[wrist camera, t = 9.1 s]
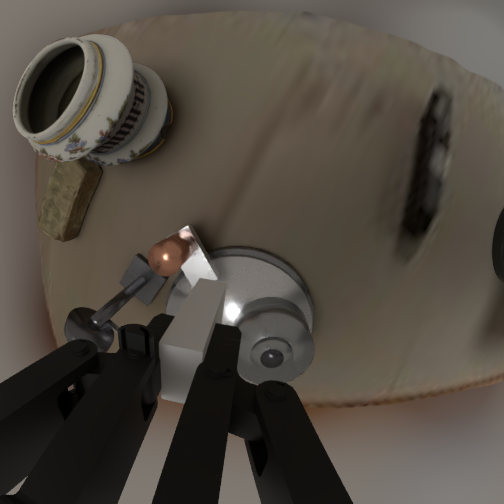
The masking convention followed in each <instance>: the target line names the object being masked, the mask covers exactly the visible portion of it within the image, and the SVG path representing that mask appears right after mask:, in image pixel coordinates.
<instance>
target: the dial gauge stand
mask: <svg viewBox="0 0 504 504" xmlns="http://www.w3.org/2000/svg"><path fill="white" fill-rule="evenodd" d="M167 278H168V276H161V275H158V274H157V273H155V272H154V271H153V270H152V268H151V267H150V265H149V261H148V260H147V259H145V258H144V257H143V256H142V255H141V254H137V255H136V256H135V258H134V259H133V261H132V263H131V264H130V266H129V268H128V269H127V271H126V273H125V274H124V276H123V278H122V280H121V281H120V284H121V285H122V286H124V287H125V289H123V290H122V291H121V292H120V293H118V294H117V295H116V296H115V297H114V298H112V299H111V300H110V301H109V302H108V303H107V304H105V305H104V306H103V307H102V308H101V309H99V310H98V311H95V310H93V309H90V308H85V307H79V308H75V309H73V310H72V311H71V312H70V313H69V315H68V317H67V320H66V322H65V326H64V332H65V336H66V338H67V340H68V341H69V342H70V341H72V340H75V339H87V340H90V341H92V342H93V343H95V344H96V346H97V349H98V352H104V353H106V352H107V351H108V350H109V348H110V346H111V345H112V343H113V341H114V331H113V330H115V331H116V332H117V333H118V329H119V328H120V327H118V326H117V325H116V324H115V323H113V322H112V321H111V320H110V318H111V317H112V316H113V315H114V314H115V313H116V312H117V311H119V310H120V309H121V308H122V307H123V306H124V305H125V304H126V303H127V302H128V301H129V300H130V299H131V298H132V297H133V296H136V297H137V298H138V299H139V300H140V301H142V302H143V303H144V304H145V305H147V306H148V305H149V304H150V303H151V302H152V300H153V299H154V297H155V296H156V294H157V293H158V291H159V290H160V288H161V287H162V286H163V284H164V283H165V281H166V280H167Z"/></svg>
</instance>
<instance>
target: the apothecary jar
mask: <svg viewBox="0 0 504 504" xmlns="http://www.w3.org/2000/svg"><path fill="white" fill-rule="evenodd" d="M13 117H14V122H15V125H16V127H17V129H18V131H19V132H20V133H21V135H23V136H24V137H26V138H28V140H29V143H30V145H31V146H32V148H33V149H34V150H35V152H36V153H37V154H39V155H40V156H41V157H43V158H44V159H47V160H49V161H53V162H69V161H73V160H76V159H79V158H81V157H83V156H85V157H86V158H87V159H88V160H90V161H91V162H93V163H96V164H99V165H103V166H115V165H120V164H123V163H126V162H128V161H130V160H132V159H139V158H142V157H145V156H147V155H149V154H151V153H152V152H154V151H155V150H156V149H157V148H158V147H159V146H160V145H161V144H162V143H163V142H164V140H165V138H166V137H165V136H166V130H167V128H168V127H169V126H170V125H171V124H172V120H173V111H172V106H171V104H170V101H169V100H168V98H167V93H166V89H165V86H164V84H163V82H162V80H161V78H160V77H159V76H158V75H157V74H156V73H155V72H154V71H153V70H151V69H150V68H148V67H146V66H144V65H140V64H135V63H133V61H132V58H131V55H130V53H129V51H128V50H127V48H126V47H125V46H124V45H123V44H122V43H121V42H120V41H119V40H117V39H115V38H113V37H110V36H107V35H101V34H94V35H87V36H83V37H80V38H75V37H68V38H62V39H59V40H57V41H54V42H52V43H51V44H49V45H48V46H46V47H45V48H44V49H43V50H41V51H40V52H39V53H38V54H37V55H36V56H35V58H34V59H33V60H32V62H31V63H30V64H29V66H28V67H27V69H26V70H25V72H24V74H23V75H22V77H21V80H20V82H19V85H18V87H17V90H16V94H15V98H14V103H13Z"/></svg>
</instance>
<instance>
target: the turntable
mask: <svg viewBox="0 0 504 504" xmlns="http://www.w3.org/2000/svg"><path fill="white" fill-rule="evenodd" d="M148 261H149V265H150V267H151V268H152V270H153V271H154V272H155V273H157V274H158V275H161V276H171V275H173V274H175V273H176V272H177V271H178V270H179V268H180V267H181V268H182V270H183V272H184V274H185V275H184V276H183V277H182V278H181V280H180V281H179V282H178V283H177V285H176V286H175V288H174V289H173V291H172V293H171V295H170V298H169V301H168V304H167V310H166V314H167V315H172V316H176V314H177V313H178V311H179V309H180V308H181V306H182V305H183V303H184V302H185V300H186V298H187V297H188V295H189V294H190V292H191V291H192V289H193V288H194V286H195V284H196V283H197V281H198V280H199V278H203V279H209V280H215V281H221V282H227V286H226V294H225V302H224V310H223V318H222V324H224V325H231V326H234V321H235V319H236V316H237V315H238V313H239V312H240V310H241V309H242V308H243V307H244V306H246V305H247V304H248V303H250V302H252V301H254V300H257V299H260V298H264V297H279V298H284V299H286V300H289V301H291V302H293V303H294V304H296V305H297V306H298V307H299V308H300V309H301V310H302V311H303V313H304V315H305V317H306V319H307V322H308V326H309V329H310V332H312V315H311V310H310V306H309V303H308V301H307V298H306V296H305V294H304V292H303V290H302V288H301V287H300V285H299V284H298V283H297V282H296V280H295V279H294V278H293V277H292V276H291V275H290V274H289V273H288V272H286V271H285V270H284V269H282V268H281V267H279V266H278V265H276V264H274V263H272V262H270V261H267V260H265V259H262V258H259V257H255V256H251V255H242V254H230V255H222V256H218V257H214V258H210V257H209V255H208V254H207V252H206V250H205V248H204V246H203V244H202V243H201V241H200V239H199V237H198V235H197V234H196V232H195V230H194V228H193V226H192V224H190V225H188V226H186V227H184V228H182V229H181V230H179V231H177V232H175V233H174V234H172V235H170V236H168V237H167V238H165V239H164V240H162V241H160V242H159V243H157V244H155V245H154V246H153V247H152V248H151V249H150V251H149V254H148ZM239 375H240V374H239ZM240 376H241V375H240ZM241 377H242V376H241ZM242 378H243V379H244V380H245V381H247V382H249V383H254V382H251V381H249V380H247V379H245V378H244V377H242Z"/></svg>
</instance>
